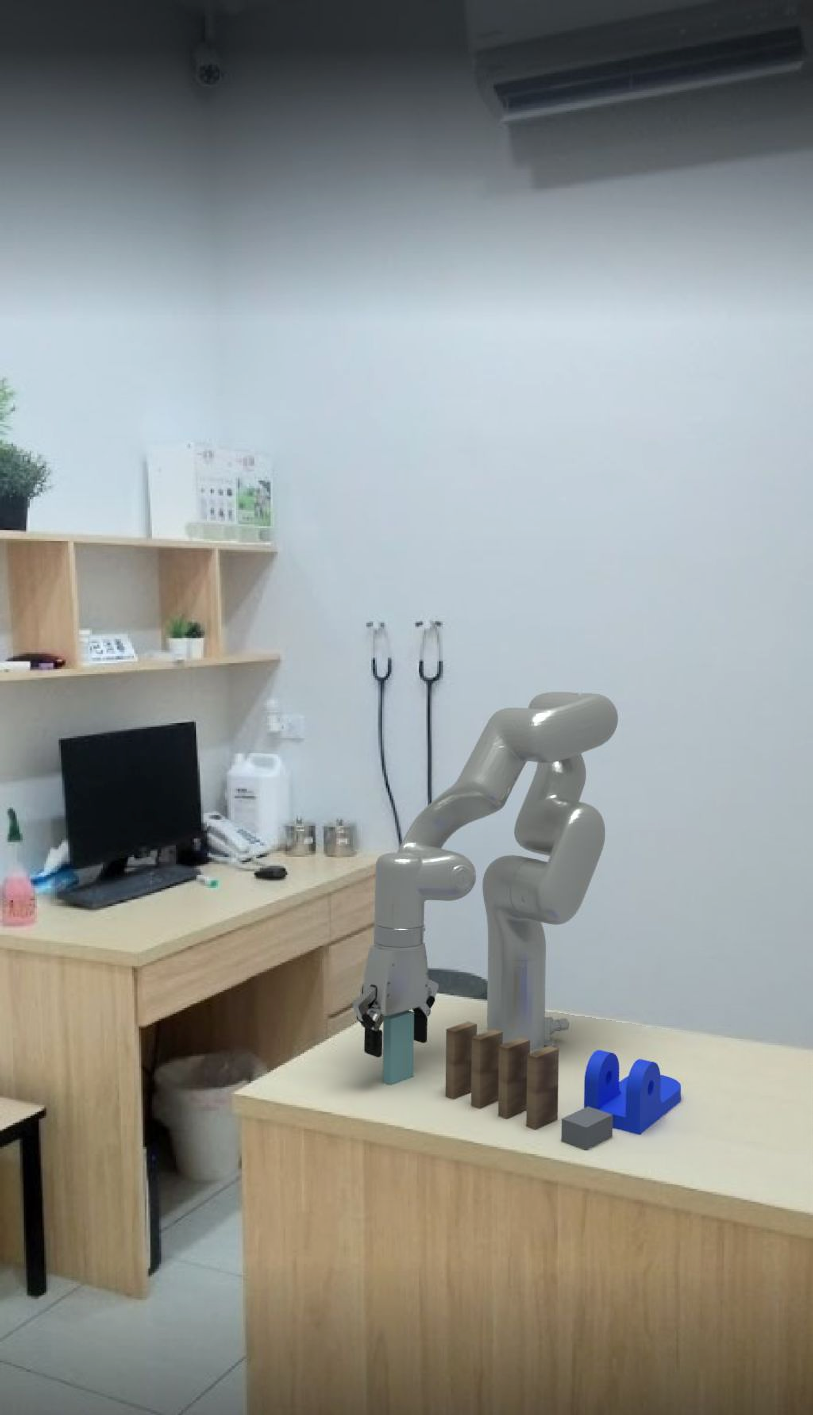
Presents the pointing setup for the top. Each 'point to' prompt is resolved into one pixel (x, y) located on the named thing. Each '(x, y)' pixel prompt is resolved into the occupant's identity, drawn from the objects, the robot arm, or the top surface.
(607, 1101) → the bracket
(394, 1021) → the tile
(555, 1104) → the tile
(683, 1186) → the top surface
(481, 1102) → the tile
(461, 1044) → the tile
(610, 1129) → the block
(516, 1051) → the tile
